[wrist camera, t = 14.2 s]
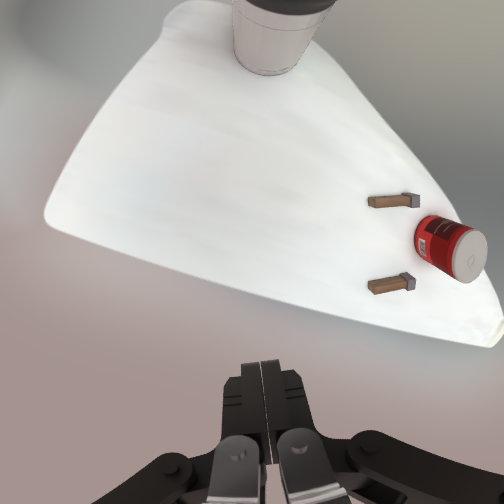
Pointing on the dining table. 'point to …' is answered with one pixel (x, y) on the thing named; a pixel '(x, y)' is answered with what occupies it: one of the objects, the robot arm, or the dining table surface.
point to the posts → (410, 279)
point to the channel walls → (396, 281)
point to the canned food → (451, 247)
